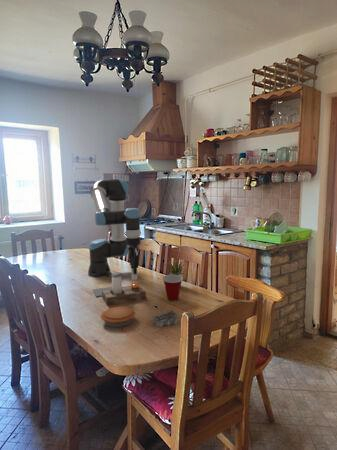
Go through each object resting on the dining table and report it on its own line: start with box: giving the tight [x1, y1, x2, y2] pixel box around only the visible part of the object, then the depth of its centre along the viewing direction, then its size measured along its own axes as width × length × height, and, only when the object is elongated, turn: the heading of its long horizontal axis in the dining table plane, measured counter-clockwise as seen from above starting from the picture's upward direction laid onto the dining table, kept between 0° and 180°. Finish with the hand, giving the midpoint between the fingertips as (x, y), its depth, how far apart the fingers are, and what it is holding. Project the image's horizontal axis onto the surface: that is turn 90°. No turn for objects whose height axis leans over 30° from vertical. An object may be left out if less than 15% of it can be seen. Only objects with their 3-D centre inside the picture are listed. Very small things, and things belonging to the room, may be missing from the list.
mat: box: [92, 286, 112, 298], centre depth 183 cm, size 12×12×1 cm
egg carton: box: [152, 309, 180, 328], centre depth 142 cm, size 11×8×4 cm
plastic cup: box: [162, 273, 184, 302], centre depth 169 cm, size 11×11×12 cm
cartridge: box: [111, 272, 123, 295], centre depth 170 cm, size 5×5×14 cm
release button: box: [130, 282, 140, 290], centre depth 174 cm, size 4×4×6 cm
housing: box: [101, 285, 147, 306], centre depth 172 cm, size 13×21×4 cm, turn 113°
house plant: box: [166, 259, 186, 288], centre depth 188 cm, size 14×14×16 cm
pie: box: [100, 306, 136, 328], centre depth 144 cm, size 16×16×5 cm
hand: (134, 279), depth 174 cm, fingers closed
